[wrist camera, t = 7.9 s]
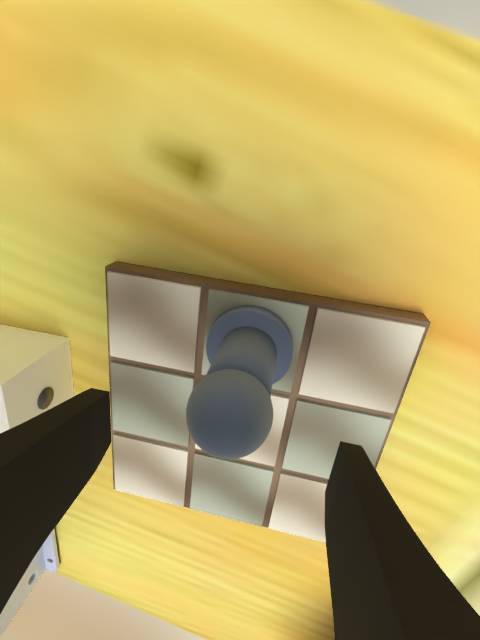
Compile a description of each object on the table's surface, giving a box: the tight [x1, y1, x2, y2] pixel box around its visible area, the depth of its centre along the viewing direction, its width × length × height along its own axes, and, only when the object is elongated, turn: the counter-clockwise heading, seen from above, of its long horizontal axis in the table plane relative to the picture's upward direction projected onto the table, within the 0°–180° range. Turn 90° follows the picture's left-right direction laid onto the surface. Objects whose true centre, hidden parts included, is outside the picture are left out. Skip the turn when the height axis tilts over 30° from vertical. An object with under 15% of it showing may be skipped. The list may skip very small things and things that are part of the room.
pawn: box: [186, 305, 293, 460], centre depth 14 cm, size 4×4×7 cm
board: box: [105, 262, 430, 543], centre depth 19 cm, size 15×15×1 cm
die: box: [0, 324, 74, 433], centre depth 19 cm, size 5×5×5 cm
